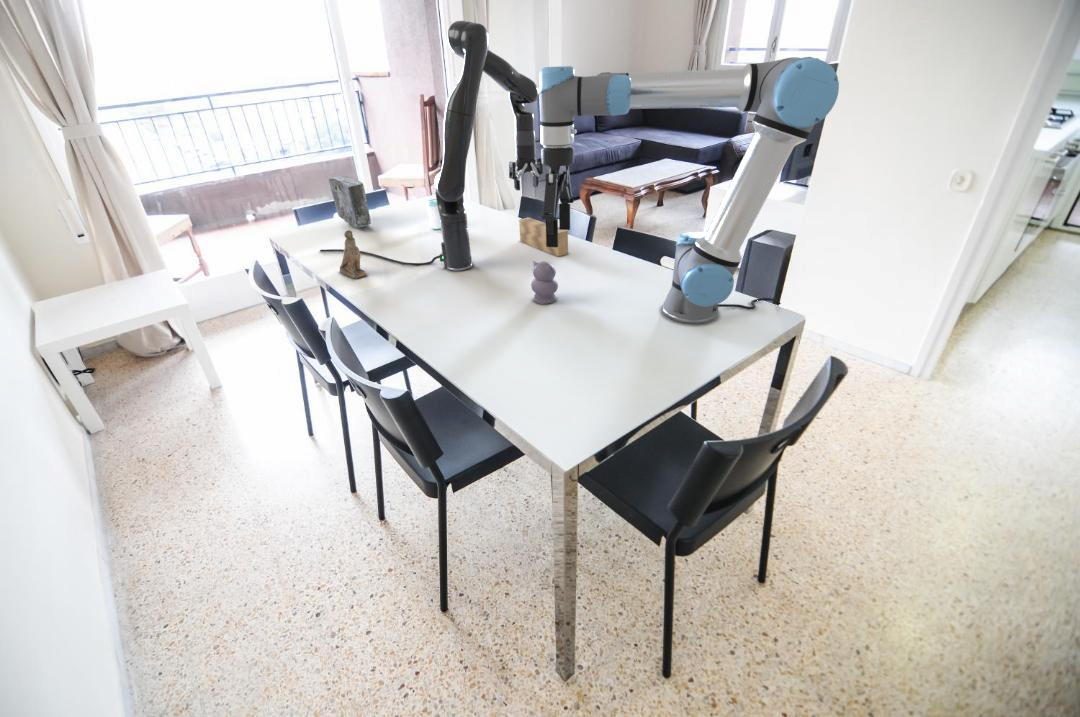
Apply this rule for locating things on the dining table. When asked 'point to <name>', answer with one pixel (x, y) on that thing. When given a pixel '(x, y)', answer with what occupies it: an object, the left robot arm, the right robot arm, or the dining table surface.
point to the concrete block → (350, 200)
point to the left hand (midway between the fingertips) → (526, 188)
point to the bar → (542, 236)
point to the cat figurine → (544, 282)
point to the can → (434, 214)
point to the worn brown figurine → (351, 258)
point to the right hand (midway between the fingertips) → (558, 237)
